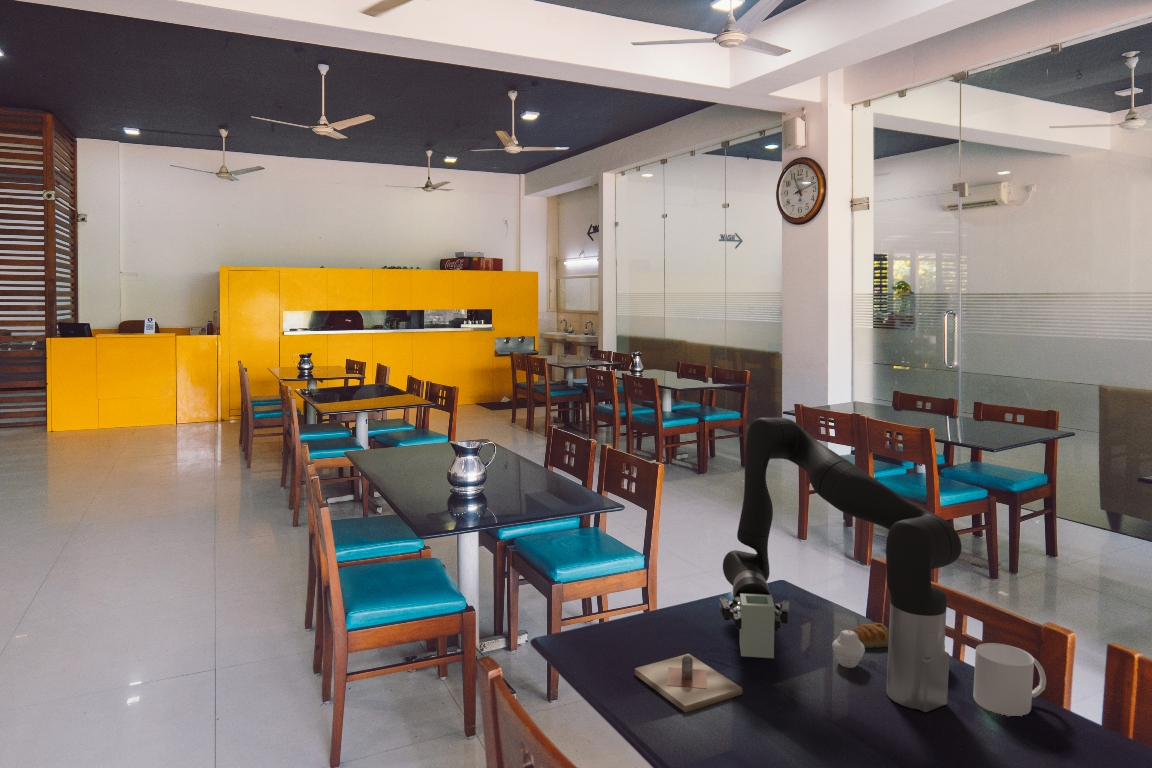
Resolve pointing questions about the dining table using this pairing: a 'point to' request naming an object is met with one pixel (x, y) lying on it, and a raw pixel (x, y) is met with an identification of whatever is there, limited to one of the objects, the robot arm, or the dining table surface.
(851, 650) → the white piece
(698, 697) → the post board
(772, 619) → the sleeve
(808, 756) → the dining table surface
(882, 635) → the pastry
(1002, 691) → the mug
